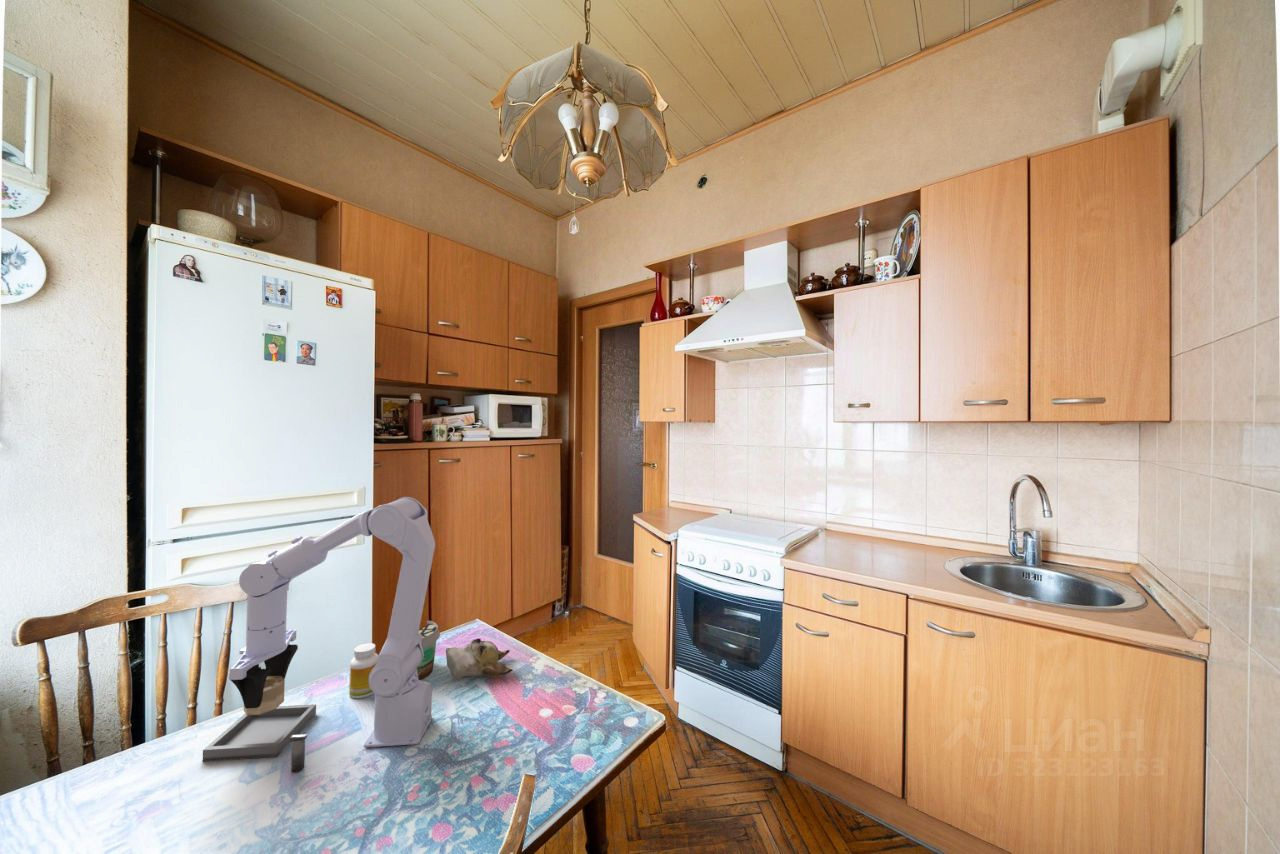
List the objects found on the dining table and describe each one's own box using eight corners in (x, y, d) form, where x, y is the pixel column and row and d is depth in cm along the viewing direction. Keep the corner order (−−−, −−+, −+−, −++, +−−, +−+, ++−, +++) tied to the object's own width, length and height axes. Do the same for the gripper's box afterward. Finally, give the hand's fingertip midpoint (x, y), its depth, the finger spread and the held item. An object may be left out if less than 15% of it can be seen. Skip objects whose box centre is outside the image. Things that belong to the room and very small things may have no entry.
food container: (415, 691, 98) (416, 646, 98) (390, 687, 99) (392, 642, 99) (449, 662, 110) (451, 622, 110) (427, 659, 111) (428, 619, 111)
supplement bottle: (380, 693, 97) (381, 648, 97) (351, 702, 94) (352, 656, 94) (375, 681, 101) (376, 639, 101) (347, 690, 98) (348, 646, 98)
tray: (315, 714, 89) (316, 704, 89) (276, 757, 78) (277, 745, 78) (252, 717, 88) (252, 707, 88) (202, 761, 76) (202, 749, 76)
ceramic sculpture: (447, 631, 108) (511, 626, 113) (444, 666, 108) (508, 660, 113) (445, 652, 98) (515, 646, 103) (441, 692, 98) (512, 684, 103)
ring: (289, 696, 86) (290, 675, 86) (270, 714, 81) (270, 691, 81) (258, 697, 85) (259, 676, 85) (236, 715, 80) (237, 693, 80)
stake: (307, 764, 76) (308, 731, 76) (301, 772, 75) (302, 739, 75) (293, 765, 76) (294, 732, 76) (287, 773, 74) (288, 739, 74)
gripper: (270, 608, 90) (268, 676, 90) (210, 643, 75) (208, 724, 75) (308, 607, 91) (306, 674, 91) (256, 642, 76) (254, 721, 76)
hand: (264, 696), depth 83 cm, fingers closed on ring, 5 cm apart
